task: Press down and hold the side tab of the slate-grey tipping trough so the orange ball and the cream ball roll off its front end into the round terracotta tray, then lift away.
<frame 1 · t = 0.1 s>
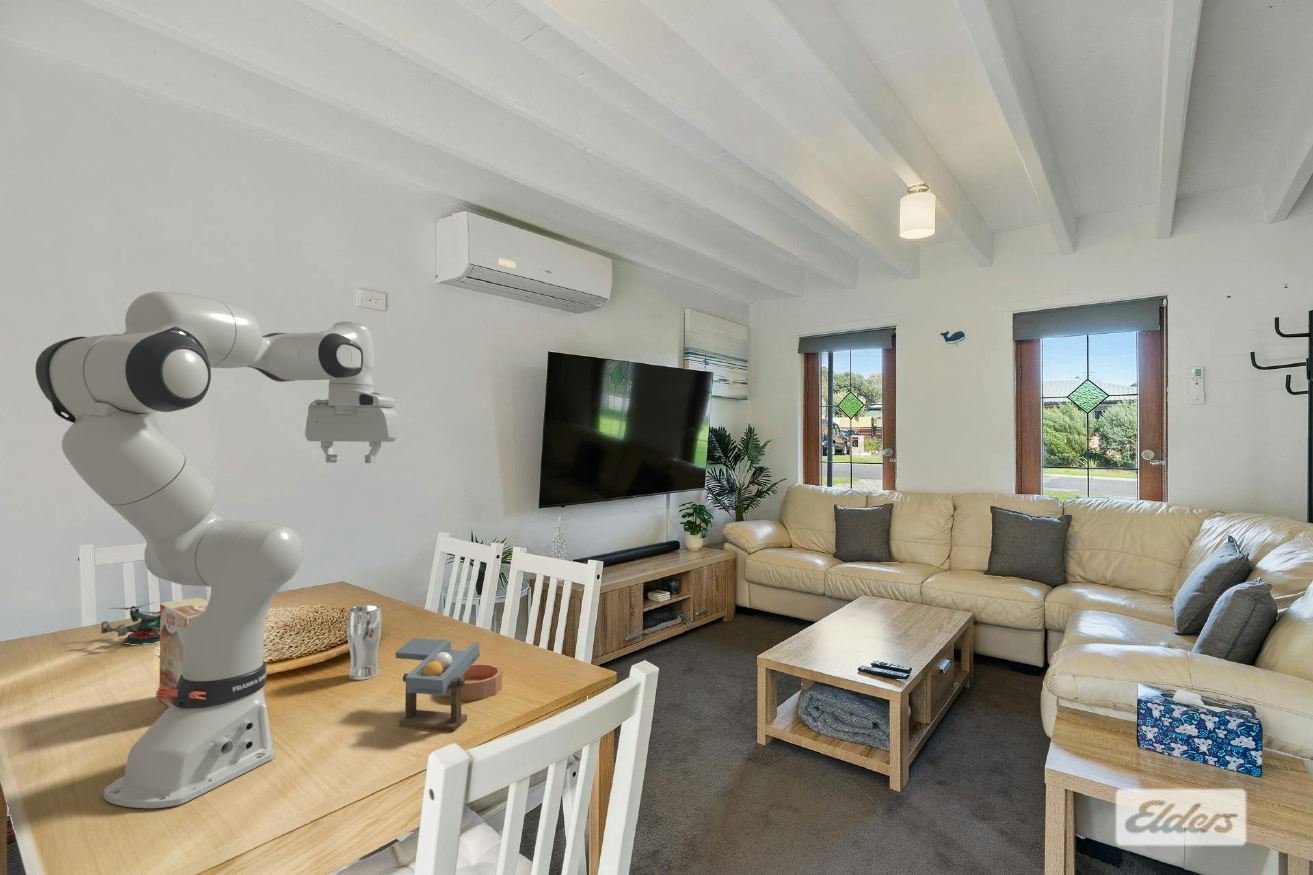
hand: (350, 462, 133), 48 cm above the table, tool pointing down, fingers open, 8 cm apart
toy helicopter: (143, 641, 161), on the table
coffeecake box: (191, 704, 123), on the table
trough stand: (433, 722, 114), on the table
cream ball: (442, 661, 118), point 10 cm above the table, tilted 13°, touching orange ball, tipping trough
tipping trough: (427, 664, 119), point 9 cm above the table, hinge at -10.0°, touching cream ball, orange ball
orange ball: (432, 671, 114), point 10 cm above the table, tilted 9°, touching cream ball, tipping trough
round terracotta tray: (474, 689, 130), on the table
beer glass: (363, 676, 138), on the table
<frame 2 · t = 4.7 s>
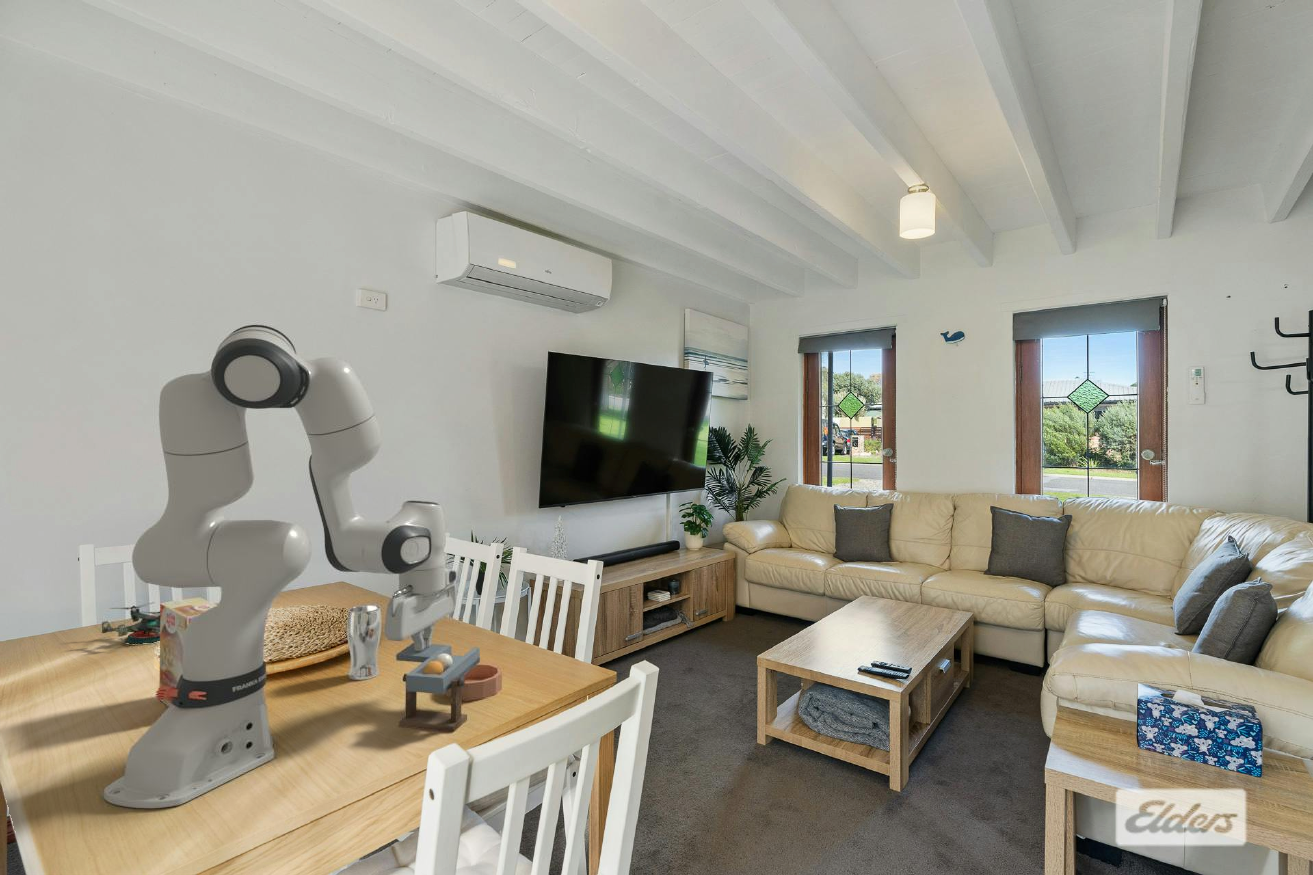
hand: (422, 648, 124), 11 cm above the table, tool pointing down, fingers closed, pressing on tipping trough
cream ball: (443, 662, 118), point 10 cm above the table, tilted 8°, touching orange ball, tipping trough
tipping trough: (427, 666, 119), point 9 cm above the table, hinge at -4.2°, touching cream ball, gripper, orange ball
orange ball: (433, 670, 114), point 10 cm above the table, touching cream ball, tipping trough
everything else where it was.
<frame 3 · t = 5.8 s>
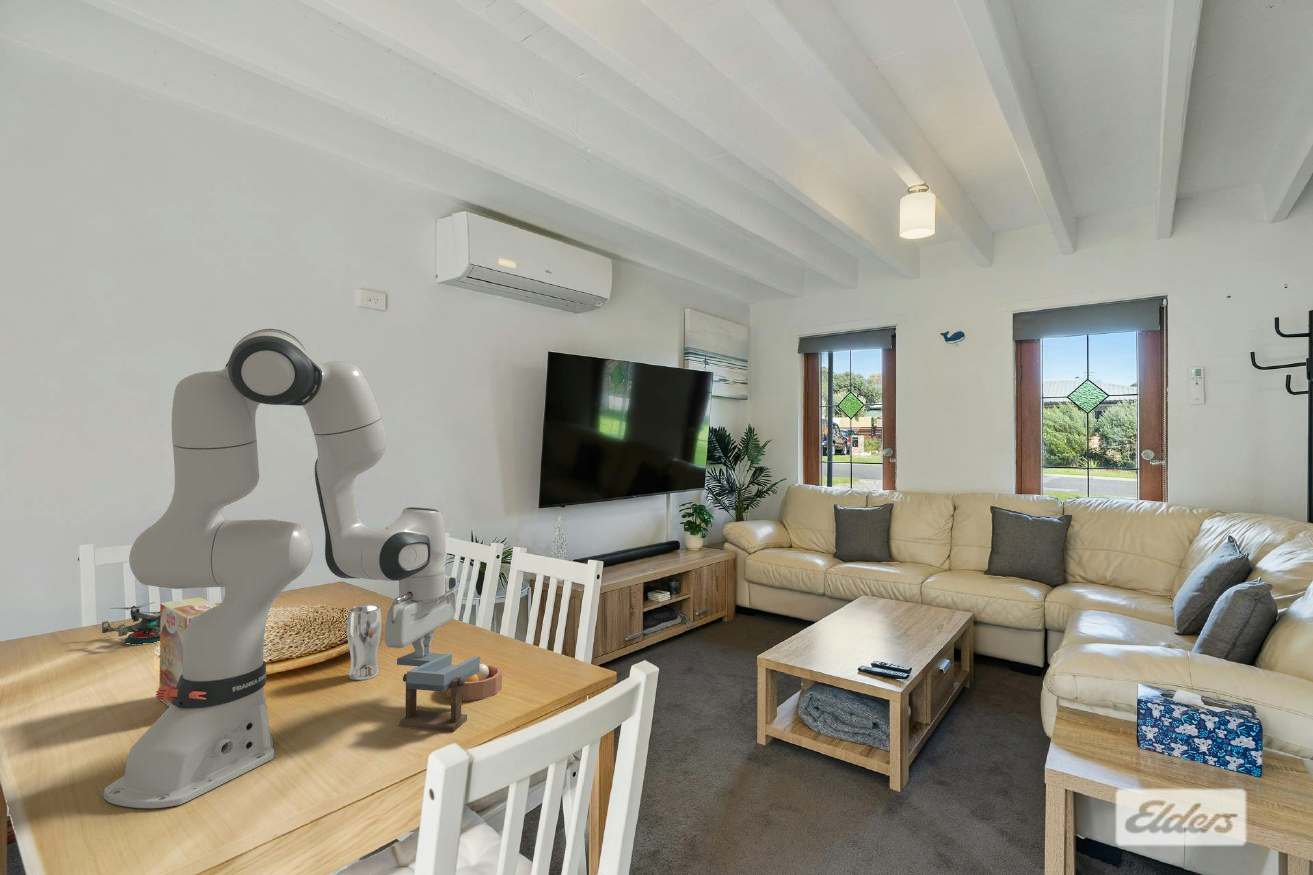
hand: (422, 655, 124), 9 cm above the table, tool pointing down, fingers closed
cream ball: (480, 672, 133), point 3 cm above the table, tilted 172°, touching round terracotta tray
tipping trough: (427, 670, 119), point 8 cm above the table, hinge at 5.9°, touching gripper
orange ball: (469, 680, 128), point 3 cm above the table, tilted 12°, touching round terracotta tray
everything else where it was.
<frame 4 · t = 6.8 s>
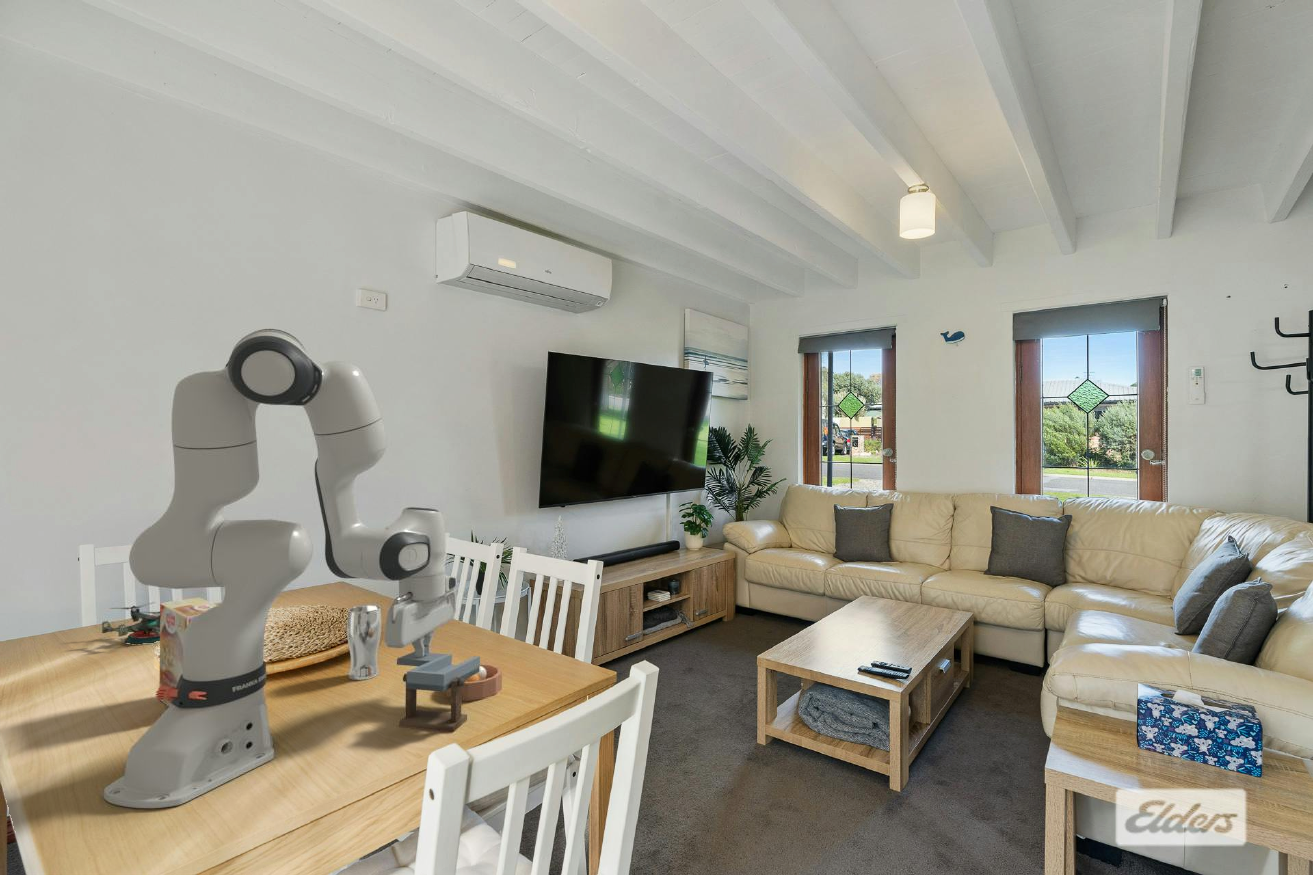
hand: (422, 655, 124), 9 cm above the table, tool pointing down, fingers closed
cream ball: (478, 674, 132), point 3 cm above the table, tilted 133°, touching round terracotta tray
everything else where it was.
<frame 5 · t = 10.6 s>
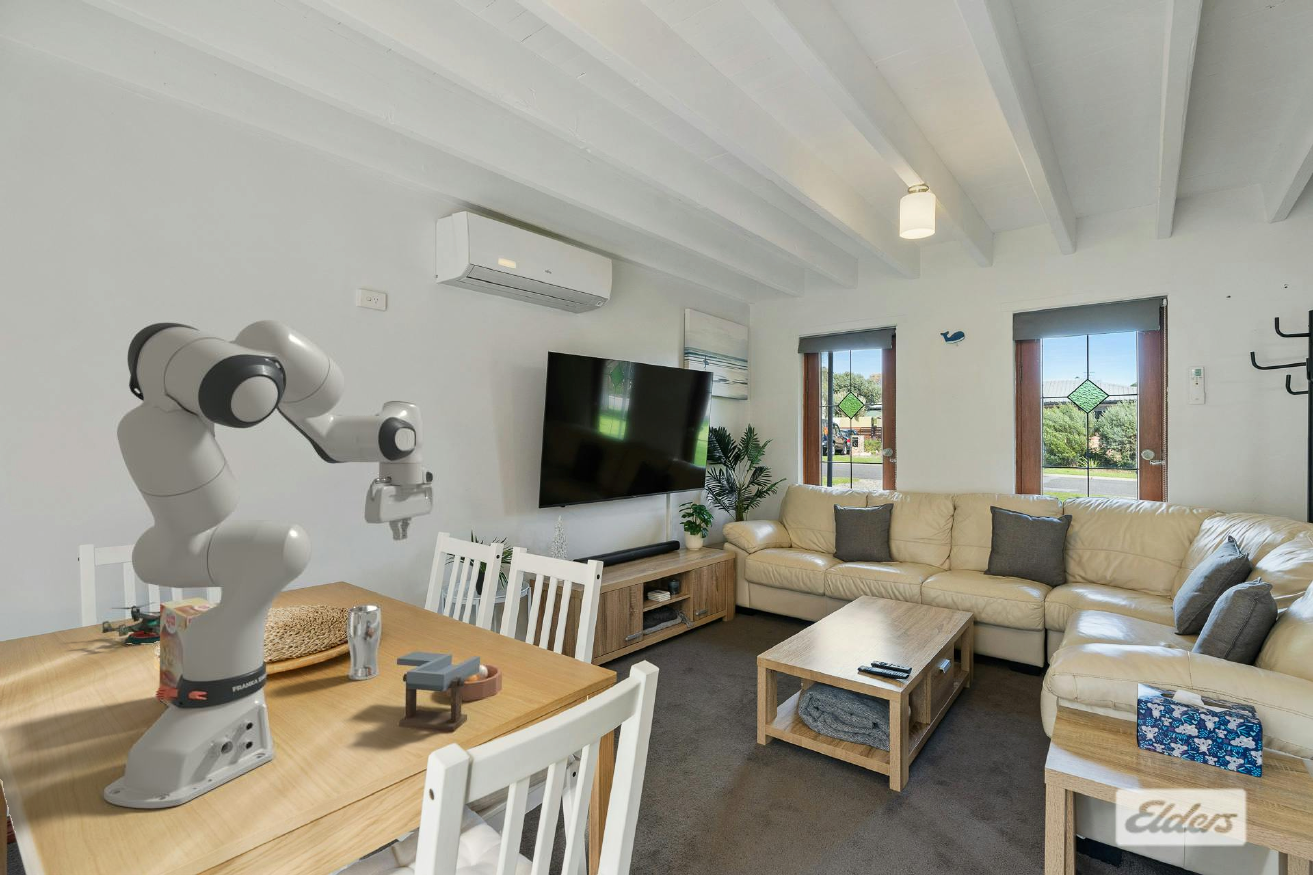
hand: (400, 539, 134), 31 cm above the table, tool pointing down, fingers closed
cream ball: (479, 673, 132), point 3 cm above the table, tilted 152°, touching round terracotta tray
tipping trough: (427, 670, 119), point 8 cm above the table, hinge at 5.9°
orange ball: (468, 681, 128), point 3 cm above the table, tilted 27°, touching round terracotta tray
everything else where it was.
at the end: orange ball inside the target area on the round terracotta tray (2.4 cm from its centre), point 2.5 cm above the round terracotta tray's base; cream ball inside the target area on the round terracotta tray (2.3 cm from its centre), point 2.5 cm above the round terracotta tray's base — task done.
